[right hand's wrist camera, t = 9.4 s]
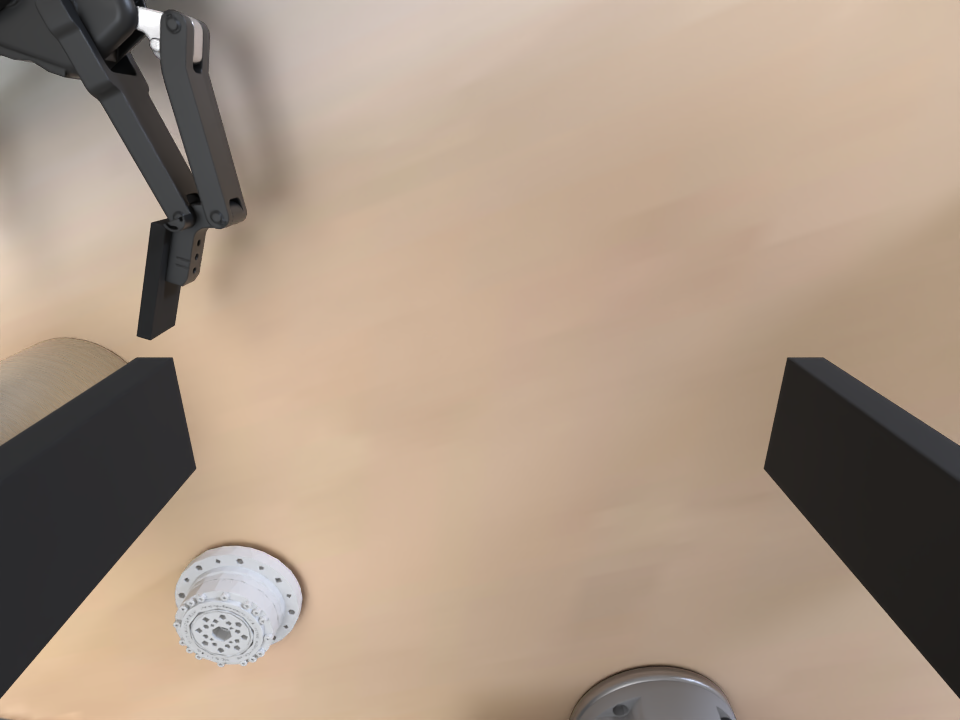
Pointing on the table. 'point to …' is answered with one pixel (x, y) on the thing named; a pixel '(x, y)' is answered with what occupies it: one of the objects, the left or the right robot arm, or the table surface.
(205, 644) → the mechanical component
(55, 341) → the jar
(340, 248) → the table surface
